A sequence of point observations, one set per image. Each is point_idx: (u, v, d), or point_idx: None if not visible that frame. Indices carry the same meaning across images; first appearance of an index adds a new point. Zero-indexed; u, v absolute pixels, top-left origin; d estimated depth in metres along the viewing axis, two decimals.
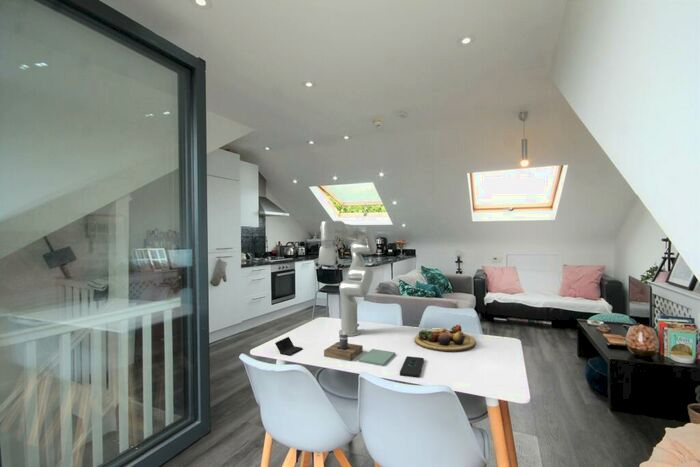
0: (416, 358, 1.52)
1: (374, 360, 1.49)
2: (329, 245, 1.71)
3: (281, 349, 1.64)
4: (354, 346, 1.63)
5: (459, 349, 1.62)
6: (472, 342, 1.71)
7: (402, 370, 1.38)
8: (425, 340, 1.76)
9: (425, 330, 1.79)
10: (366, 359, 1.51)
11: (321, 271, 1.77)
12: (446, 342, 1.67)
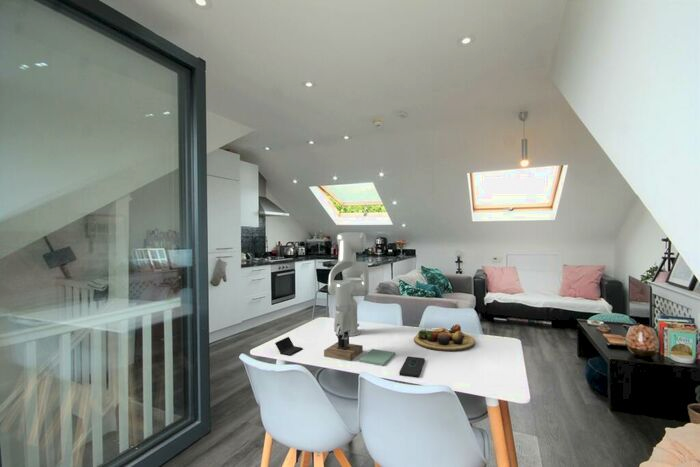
0: (417, 358, 1.51)
1: (374, 360, 1.49)
2: None
3: (281, 349, 1.64)
4: (354, 346, 1.63)
5: (458, 349, 1.63)
6: (471, 342, 1.71)
7: (402, 370, 1.38)
8: (424, 340, 1.77)
9: (424, 330, 1.80)
10: (366, 359, 1.51)
11: None
12: (445, 342, 1.67)
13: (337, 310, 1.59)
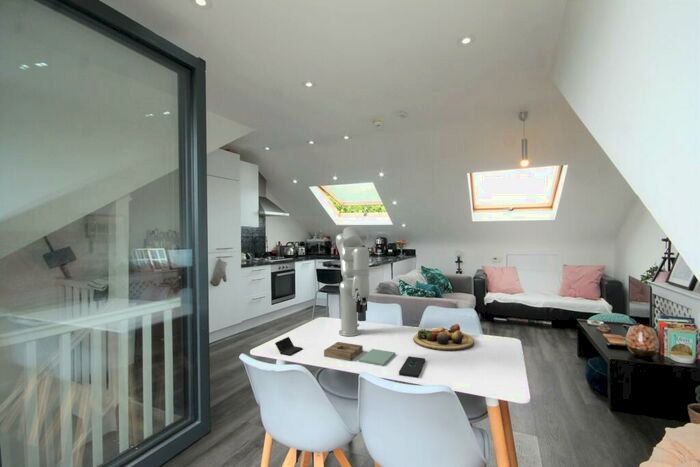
0: (417, 358, 1.51)
1: (374, 360, 1.49)
2: None
3: (281, 349, 1.64)
4: (354, 346, 1.63)
5: (458, 348, 1.64)
6: (470, 341, 1.72)
7: (401, 370, 1.38)
8: (424, 339, 1.78)
9: (424, 329, 1.80)
10: (366, 359, 1.51)
11: None
12: (445, 341, 1.68)
13: (355, 275, 1.56)
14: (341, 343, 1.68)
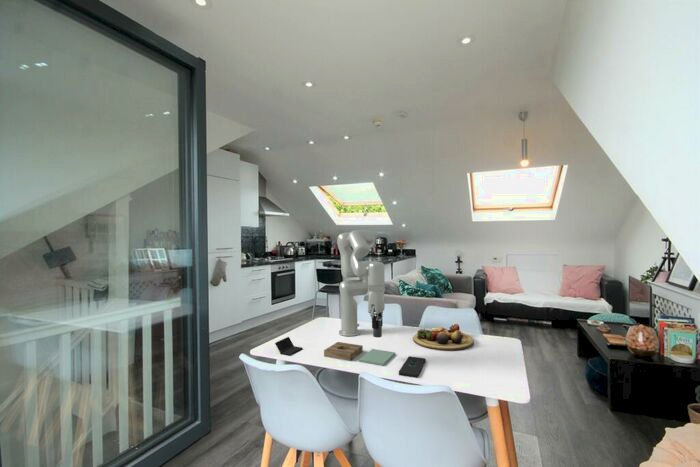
0: (418, 358, 1.51)
1: (374, 360, 1.49)
2: None
3: (281, 349, 1.64)
4: (354, 346, 1.63)
5: (457, 348, 1.64)
6: (470, 341, 1.72)
7: (401, 370, 1.38)
8: (424, 339, 1.78)
9: (424, 329, 1.81)
10: (366, 359, 1.51)
11: None
12: (444, 341, 1.68)
13: (371, 290, 1.53)
14: (341, 343, 1.68)
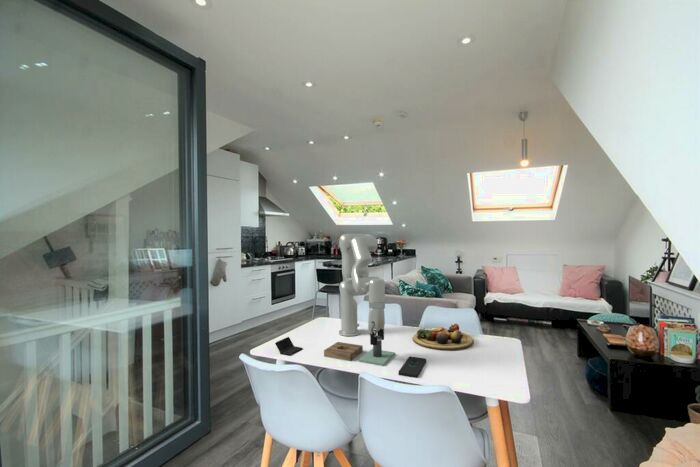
0: (418, 358, 1.51)
1: (374, 360, 1.49)
2: None
3: (281, 349, 1.64)
4: (354, 346, 1.63)
5: (457, 348, 1.65)
6: (470, 341, 1.73)
7: (401, 370, 1.38)
8: (423, 339, 1.78)
9: (423, 329, 1.81)
10: (366, 359, 1.51)
11: None
12: (444, 341, 1.69)
13: (371, 307, 1.53)
14: (341, 343, 1.68)
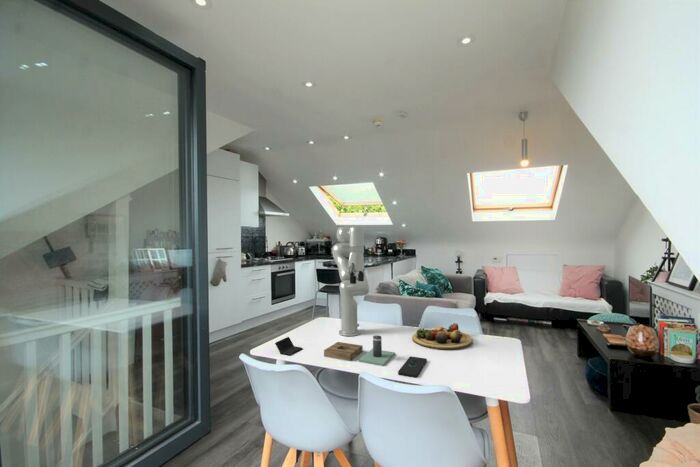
0: (419, 358, 1.51)
1: (374, 360, 1.49)
2: None
3: (281, 349, 1.64)
4: (354, 346, 1.63)
5: (456, 347, 1.65)
6: (469, 340, 1.73)
7: (401, 370, 1.39)
8: (423, 338, 1.79)
9: (423, 329, 1.82)
10: (366, 359, 1.51)
11: None
12: (443, 340, 1.69)
13: (351, 251, 1.72)
14: (341, 343, 1.68)
